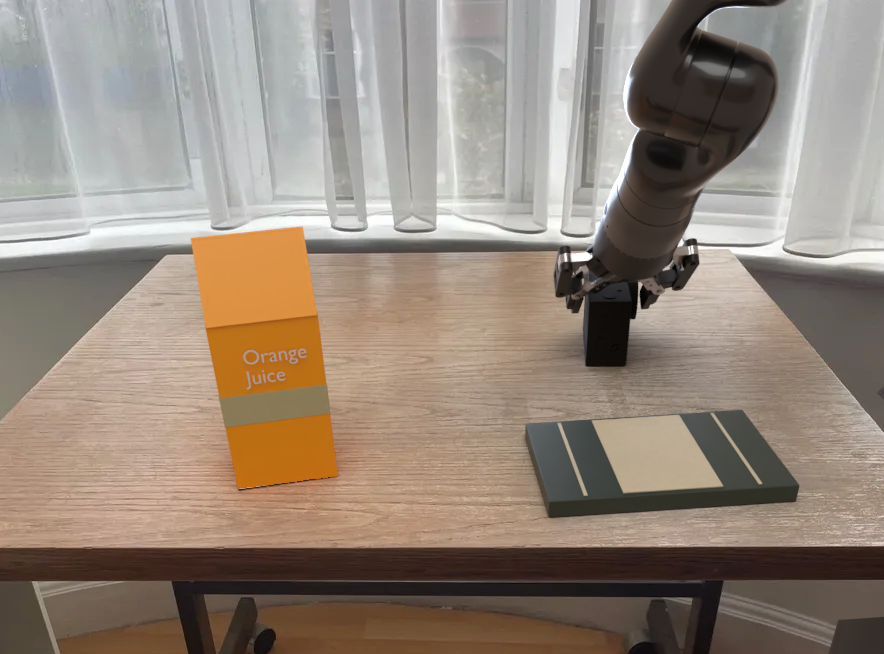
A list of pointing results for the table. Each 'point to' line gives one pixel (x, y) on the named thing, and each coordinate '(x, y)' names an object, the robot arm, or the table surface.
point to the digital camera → (609, 324)
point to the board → (655, 463)
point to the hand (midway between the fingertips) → (608, 303)
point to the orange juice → (266, 354)
